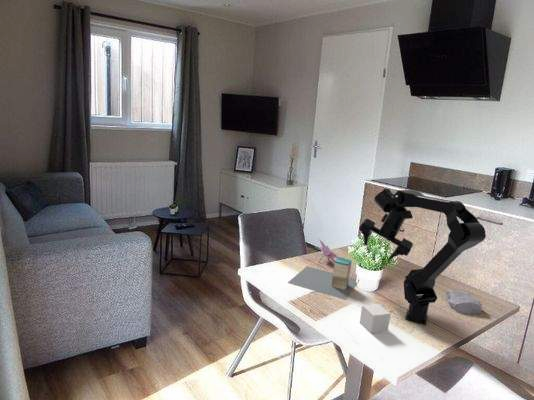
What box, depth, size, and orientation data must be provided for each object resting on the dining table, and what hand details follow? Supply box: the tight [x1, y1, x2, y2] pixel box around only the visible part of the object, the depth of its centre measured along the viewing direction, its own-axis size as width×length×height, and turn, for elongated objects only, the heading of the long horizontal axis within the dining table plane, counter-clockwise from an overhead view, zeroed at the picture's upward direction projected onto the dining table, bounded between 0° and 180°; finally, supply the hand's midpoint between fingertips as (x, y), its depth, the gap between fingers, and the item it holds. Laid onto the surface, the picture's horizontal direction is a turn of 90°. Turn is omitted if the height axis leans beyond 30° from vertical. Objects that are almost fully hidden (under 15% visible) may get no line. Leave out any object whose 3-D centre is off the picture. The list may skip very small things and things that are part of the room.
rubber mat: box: [287, 265, 358, 300], centre depth 147 cm, size 20×22×1 cm
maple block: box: [332, 256, 353, 290], centre depth 144 cm, size 5×5×10 cm
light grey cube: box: [359, 303, 391, 334], centre depth 118 cm, size 6×6×6 cm
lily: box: [318, 238, 339, 263], centre depth 167 cm, size 12×12×10 cm
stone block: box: [444, 289, 483, 314], centre depth 138 cm, size 12×5×10 cm
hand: (376, 253), depth 143 cm, fingers open, 9 cm apart
